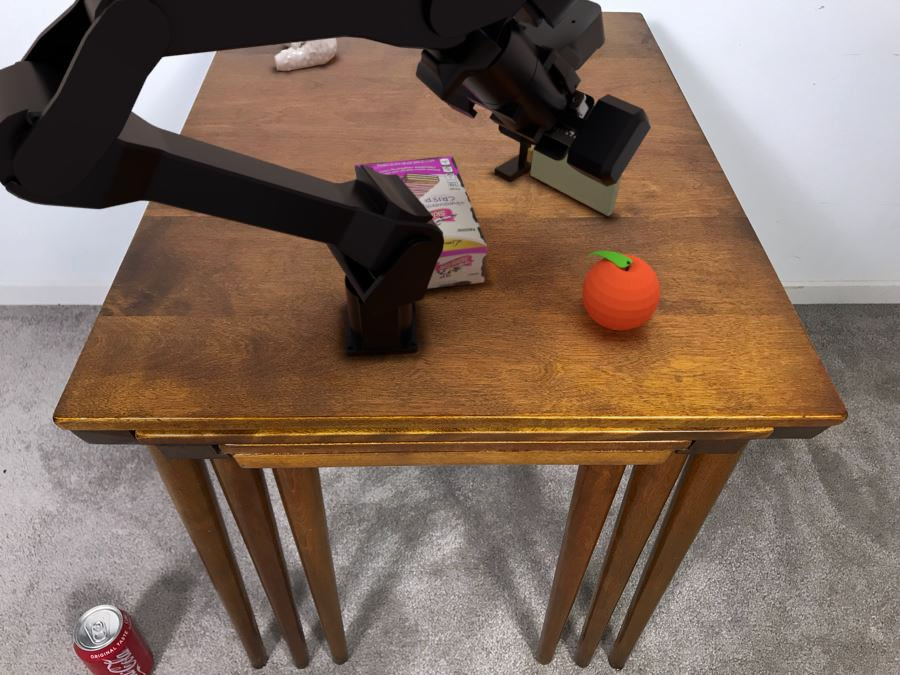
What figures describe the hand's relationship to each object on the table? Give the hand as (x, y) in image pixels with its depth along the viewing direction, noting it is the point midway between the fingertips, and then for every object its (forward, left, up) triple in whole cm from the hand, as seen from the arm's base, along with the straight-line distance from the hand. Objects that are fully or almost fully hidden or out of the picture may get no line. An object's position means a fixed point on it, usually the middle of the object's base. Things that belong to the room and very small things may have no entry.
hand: (571, 145), depth 68 cm
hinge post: (+14, +2, -11) cm, 18 cm away
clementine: (-12, -3, -11) cm, 17 cm away
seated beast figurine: (+45, +28, -11) cm, 54 cm away
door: (+8, -3, -11) cm, 14 cm away
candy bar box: (+9, +16, -9) cm, 20 cm away
